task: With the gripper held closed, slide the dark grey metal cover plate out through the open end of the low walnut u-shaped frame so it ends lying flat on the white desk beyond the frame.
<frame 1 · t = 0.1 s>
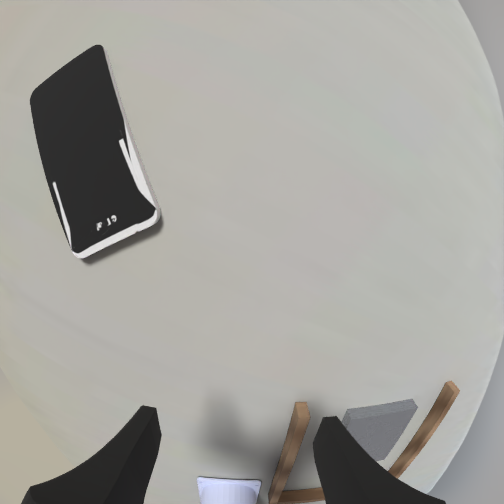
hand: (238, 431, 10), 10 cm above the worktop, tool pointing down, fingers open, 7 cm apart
smartphone: (89, 146, 17), on the worktop
walnut u-shaped frame: (356, 452, 25), on the worktop
cover plate: (365, 430, 25), on the worktop
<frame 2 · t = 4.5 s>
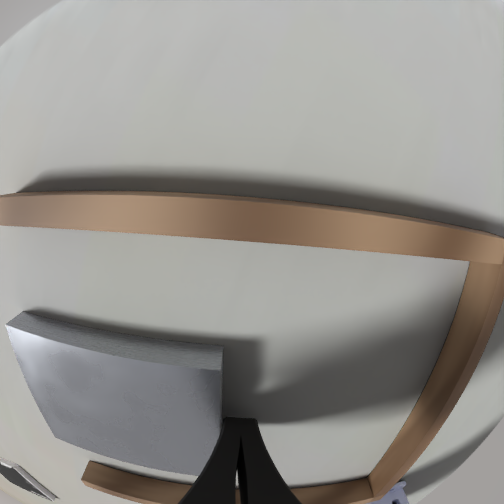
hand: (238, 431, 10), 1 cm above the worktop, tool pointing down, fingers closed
smartphone: (15, 469, 17), on the worktop
walnut u-shaped frame: (242, 416, 11), on the worktop
cover plate: (122, 392, 11), on the worktop
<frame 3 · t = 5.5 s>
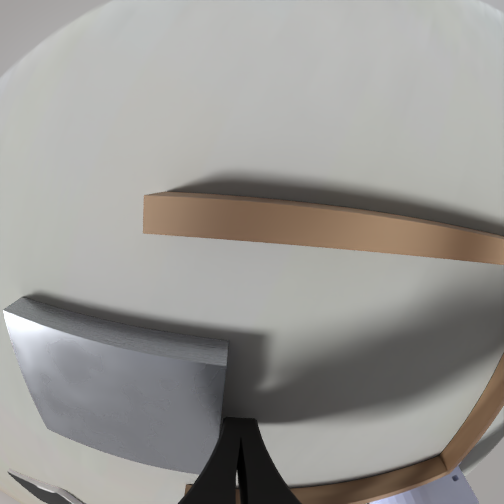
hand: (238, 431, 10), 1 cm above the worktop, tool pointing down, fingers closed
smartphone: (51, 490, 18), on the worktop
walnut u-shaped frame: (384, 407, 12), on the worktop
cover plate: (120, 385, 11), on the worktop, touching gripper
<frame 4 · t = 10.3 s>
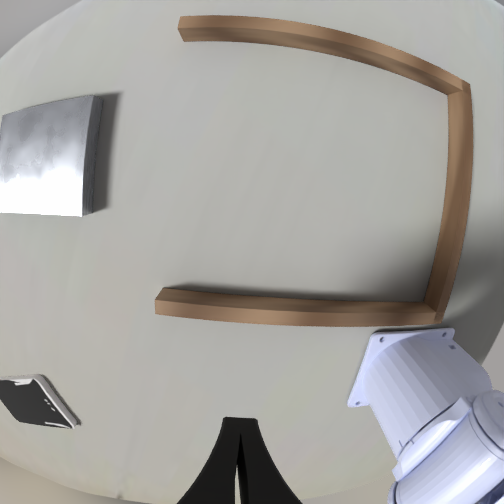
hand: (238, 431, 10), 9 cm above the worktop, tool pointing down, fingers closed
smartphone: (30, 397, 23), on the worktop
walnut u-shaped frame: (334, 174, 17), on the worktop
cover plate: (48, 158, 16), on the worktop
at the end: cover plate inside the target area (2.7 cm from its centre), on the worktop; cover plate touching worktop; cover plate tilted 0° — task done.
